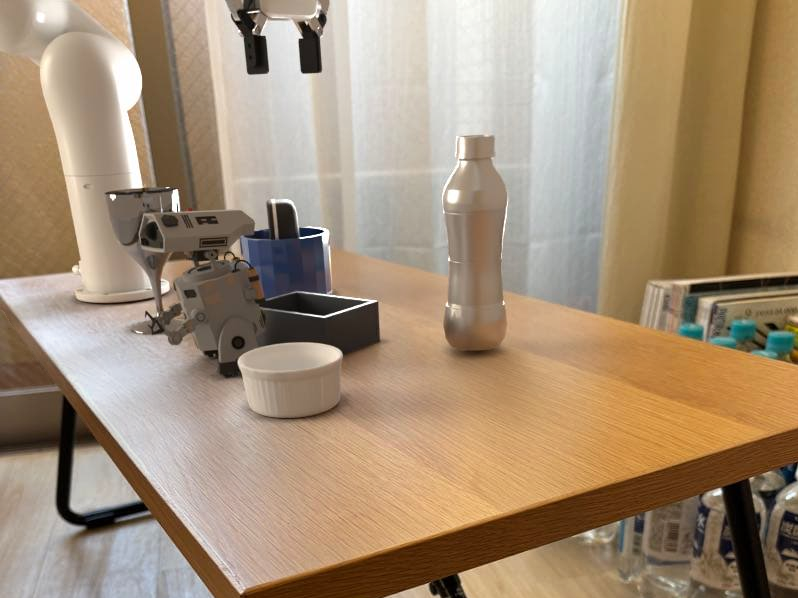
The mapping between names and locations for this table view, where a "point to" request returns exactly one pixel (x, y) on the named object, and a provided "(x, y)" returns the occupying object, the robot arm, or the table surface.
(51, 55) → the robot arm
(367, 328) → the bin
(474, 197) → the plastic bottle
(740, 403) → the table surface
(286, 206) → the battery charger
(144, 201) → the wine glass
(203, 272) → the figurine
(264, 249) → the cup
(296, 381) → the ramekin
